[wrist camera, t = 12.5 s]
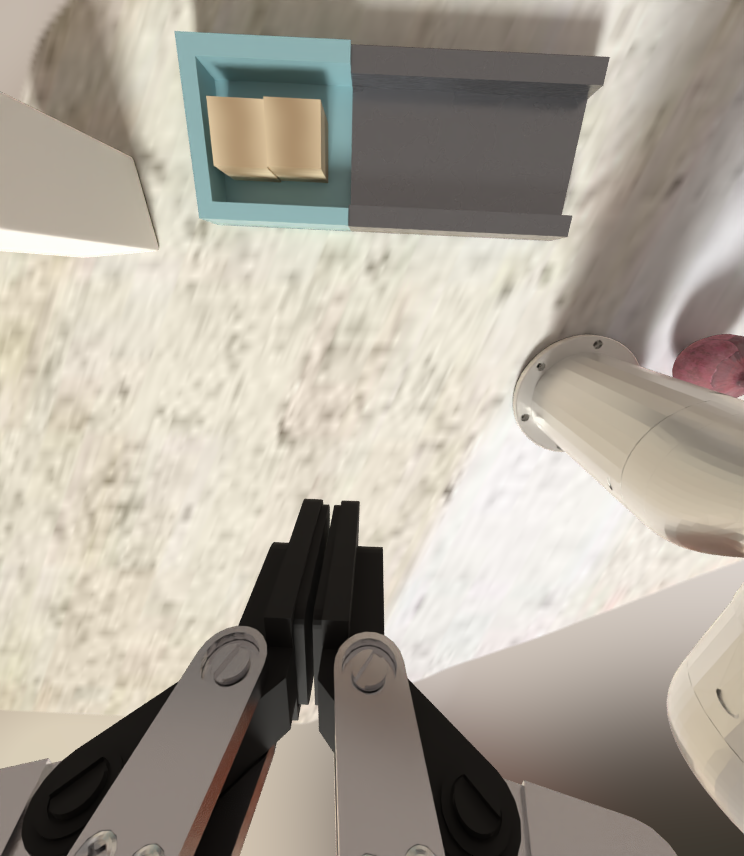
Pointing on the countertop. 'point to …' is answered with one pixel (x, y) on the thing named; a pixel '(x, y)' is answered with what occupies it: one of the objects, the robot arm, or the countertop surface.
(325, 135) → the chip
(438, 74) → the rail
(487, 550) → the countertop surface
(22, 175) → the milk carton
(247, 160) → the chip
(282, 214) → the tray
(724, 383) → the vegetable
